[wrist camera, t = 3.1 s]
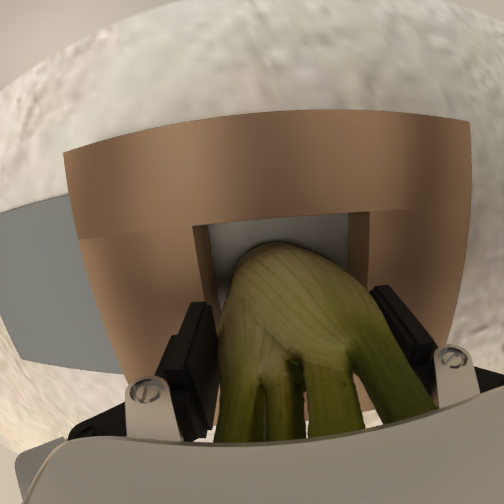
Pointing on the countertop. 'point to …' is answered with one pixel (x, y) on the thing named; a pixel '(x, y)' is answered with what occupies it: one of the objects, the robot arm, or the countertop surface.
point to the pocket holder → (268, 212)
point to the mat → (50, 290)
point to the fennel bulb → (305, 351)
